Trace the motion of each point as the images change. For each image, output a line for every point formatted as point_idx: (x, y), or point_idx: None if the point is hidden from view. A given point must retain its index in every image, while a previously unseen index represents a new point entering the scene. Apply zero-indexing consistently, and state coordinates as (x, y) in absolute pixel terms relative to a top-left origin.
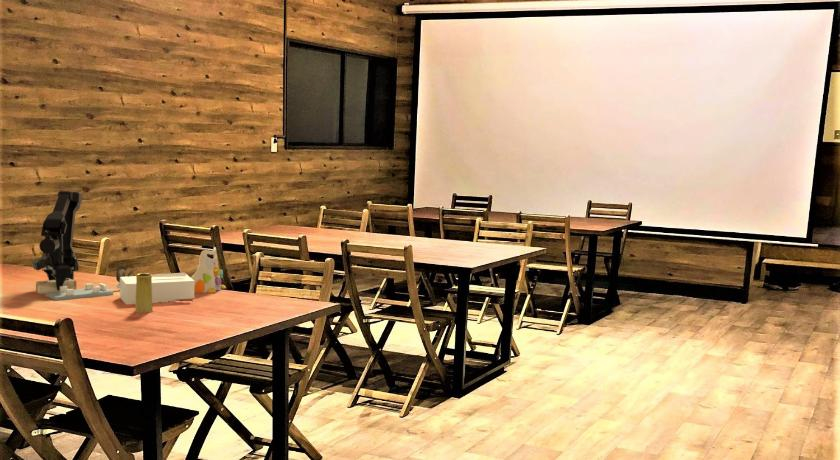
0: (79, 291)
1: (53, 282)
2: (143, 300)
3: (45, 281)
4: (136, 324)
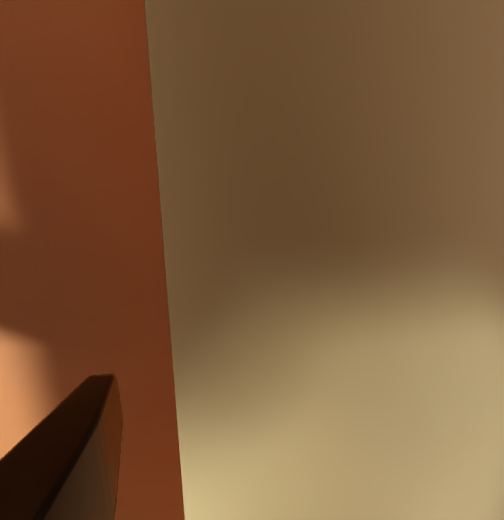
0: None
1: (182, 469)
2: None
3: (479, 255)
4: None
